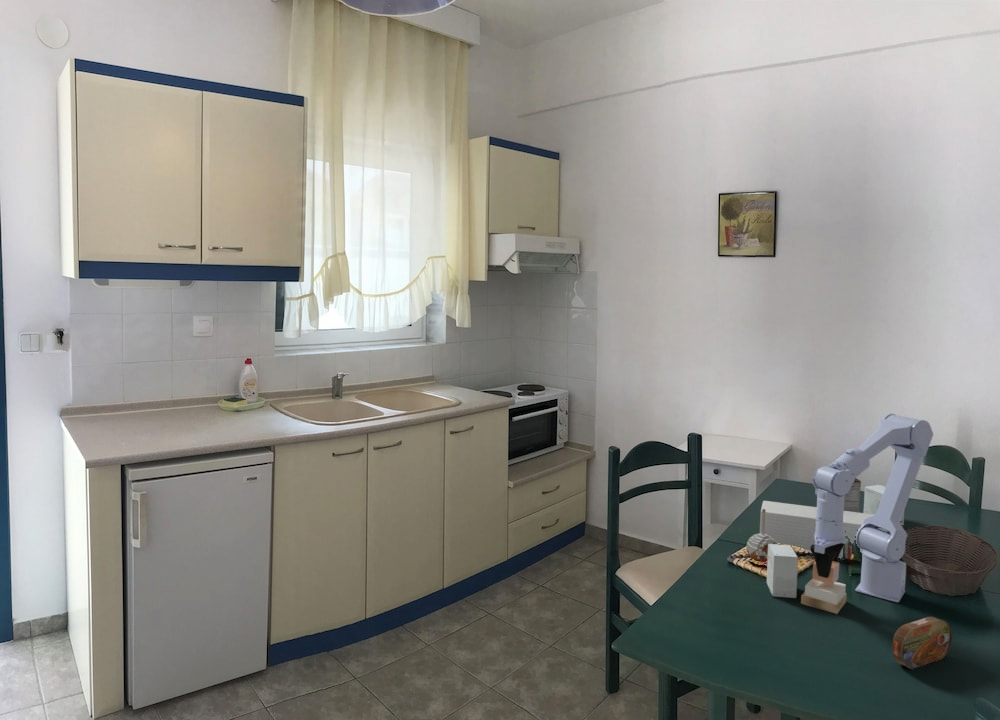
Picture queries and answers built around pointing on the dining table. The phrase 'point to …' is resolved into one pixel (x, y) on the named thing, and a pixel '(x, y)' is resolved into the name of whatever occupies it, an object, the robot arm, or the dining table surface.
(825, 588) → the off-white slab
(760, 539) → the decorative ornament
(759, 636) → the dining table surface
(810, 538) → the long white box
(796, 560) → the small box
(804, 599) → the oak slab
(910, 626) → the tin
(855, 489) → the coffee box
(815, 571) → the terracotta block
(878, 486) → the skincare box
